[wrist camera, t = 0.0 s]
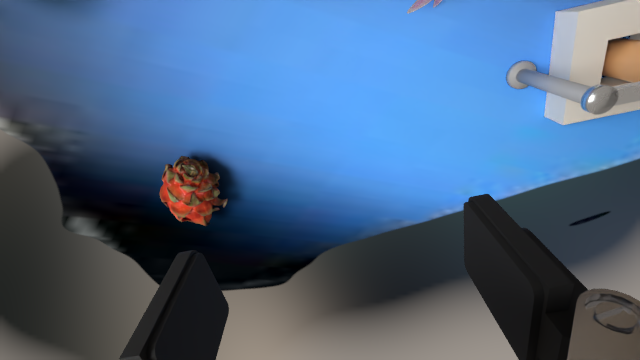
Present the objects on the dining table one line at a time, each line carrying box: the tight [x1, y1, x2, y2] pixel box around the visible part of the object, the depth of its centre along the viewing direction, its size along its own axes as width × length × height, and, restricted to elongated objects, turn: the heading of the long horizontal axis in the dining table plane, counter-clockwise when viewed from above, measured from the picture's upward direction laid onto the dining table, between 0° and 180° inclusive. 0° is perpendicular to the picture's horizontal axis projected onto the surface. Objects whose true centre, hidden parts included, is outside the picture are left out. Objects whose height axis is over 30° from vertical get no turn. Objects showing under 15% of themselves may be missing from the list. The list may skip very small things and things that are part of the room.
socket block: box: [506, 0, 640, 125], centre depth 38 cm, size 14×20×13 cm
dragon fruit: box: [160, 156, 228, 226], centre depth 48 cm, size 8×8×12 cm
